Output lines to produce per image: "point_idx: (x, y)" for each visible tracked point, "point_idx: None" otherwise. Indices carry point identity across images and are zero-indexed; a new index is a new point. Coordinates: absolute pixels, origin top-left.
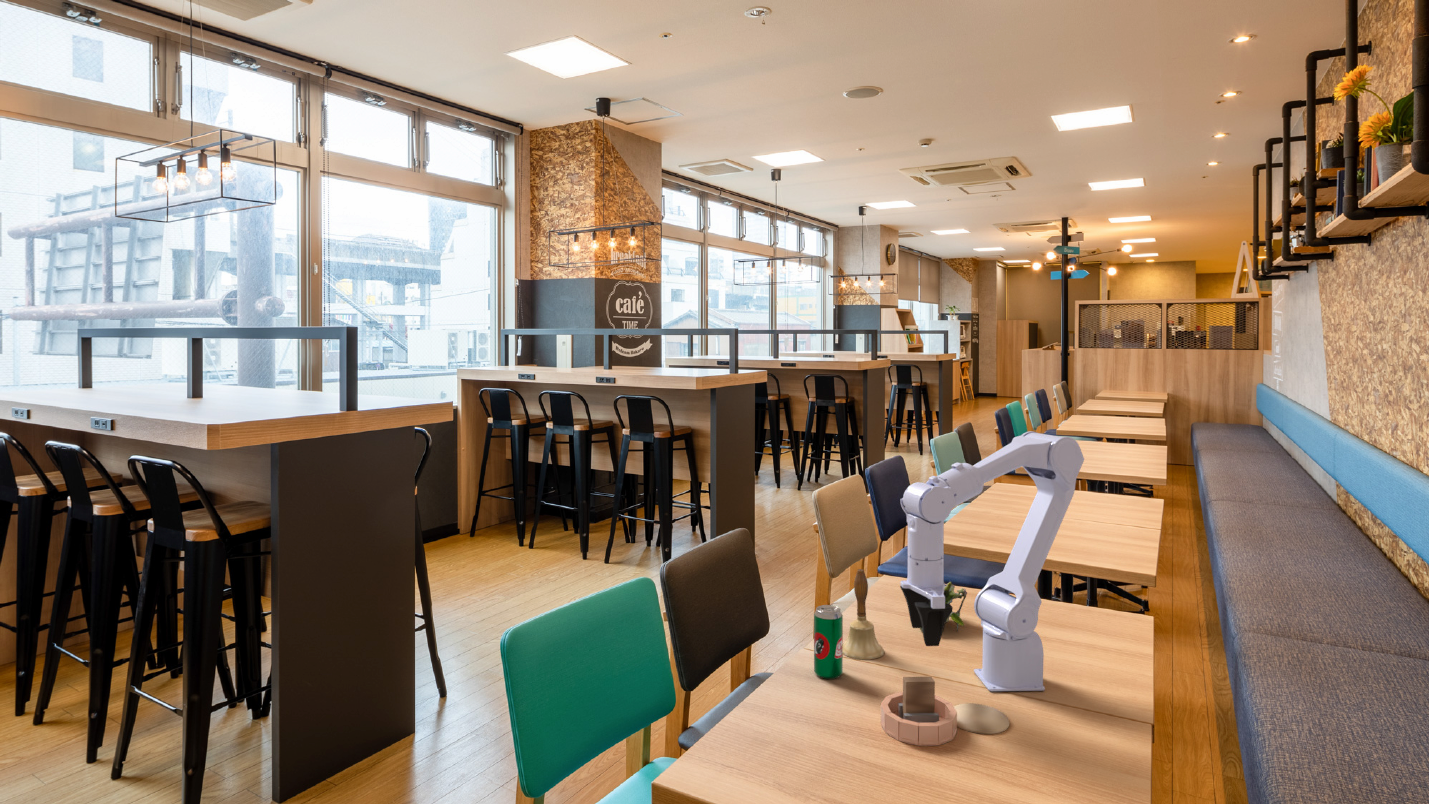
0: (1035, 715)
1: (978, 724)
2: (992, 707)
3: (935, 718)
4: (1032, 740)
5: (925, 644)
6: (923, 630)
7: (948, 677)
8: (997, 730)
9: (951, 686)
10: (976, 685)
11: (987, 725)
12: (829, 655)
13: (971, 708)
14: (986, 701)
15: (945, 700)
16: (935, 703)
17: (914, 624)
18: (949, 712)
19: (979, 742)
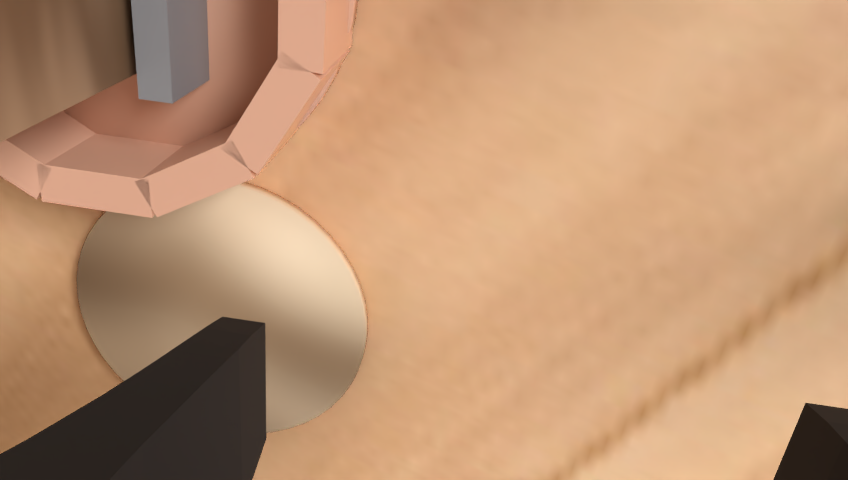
0: None
1: (143, 283)
2: (311, 417)
3: None
4: (51, 421)
5: (242, 322)
6: (91, 413)
7: (717, 386)
8: (90, 335)
9: (603, 352)
10: (581, 463)
11: (133, 316)
12: None
13: (309, 327)
14: (404, 426)
15: (186, 200)
16: (223, 138)
17: (819, 450)
18: (31, 155)
19: (5, 214)
